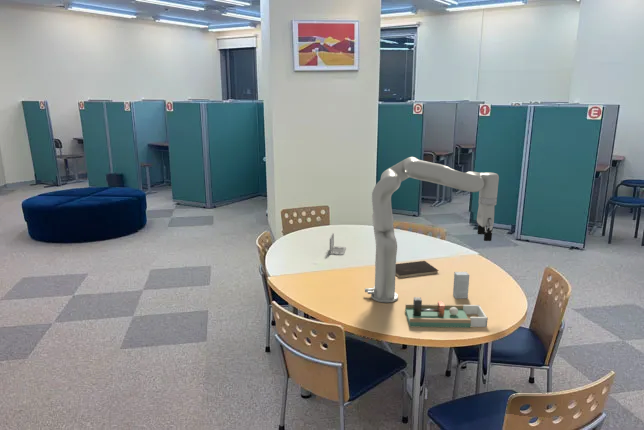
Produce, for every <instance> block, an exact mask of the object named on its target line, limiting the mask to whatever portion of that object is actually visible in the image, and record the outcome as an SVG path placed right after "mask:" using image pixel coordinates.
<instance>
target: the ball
mask: <svg viewBox="0 0 644 430" xmlns="http://www.w3.org/2000/svg"><path fill="white" fill-rule="evenodd" d="M449 312H450V314H451V315H453V316H455V315H457V314H458V309H457V308H456V307H451V308H450V310H449Z"/></svg>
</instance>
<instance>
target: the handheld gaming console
mask: <svg viewBox="0 0 644 430" xmlns="http://www.w3.org/2000/svg"><path fill="white" fill-rule="evenodd" d="M334 234H335V233H334V232H332V233H331V235H330V238H329V252H328V255H331V256H332V255H335V256H344V255H345V253H346V250H347V247H345V246H334V244H335V235H334Z"/></svg>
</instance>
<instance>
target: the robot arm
mask: <svg viewBox="0 0 644 430" xmlns="http://www.w3.org/2000/svg"><path fill="white" fill-rule="evenodd" d="M409 178H411V179H415V180H419V181H423V182H429V183H433V184H438V185H442V186H445V187H449V188H453V189H456V190H460V191H464V192H470V193H478V209H477V213H476V223H477V235H483V241H484V242H492V237H493V229H494V228H493V227H494V223H495V206H497V202H498V201H497V200H498V193H499V192H498V189H499V180H500V177H499V174H498V173H495V172H489V171H488V172H477V171H472V170H471V171H467V172H463V171H459V170H456V169H454V168H451V167H449V166H447V165H444V164H441V163H437V162H436V163H435V162H430V161H426V160H422V159H418V158H417V157H415V156H409V157H406V158H405V159H403V160H401V161H399V162H398V163H397V162H396V164H394V165H392V166H391V167H388V168H387V169H386V170H384V171H383V172H382V173H381V176H380V180H379V181H377V183H376V184H375V186H373V189H372V192H371V203H372V205H371V207H372V215H371V217H372V224H373V225H372V226H373V232H374V241H375V259H374V260H375V261H374V263H375V265H374V266H375V267H374V285H373V287H371V288H369V287H365V288H364V292H365V293H367V295H370V296H371V299H372V300H373V301H375V302H378V303H386V304H387V303H393V302H395V301H398V299H399V294H398V293H397V292H396V275H395V274H396V264H397V253H398V242H397V237H396V235H395V227H394V221H395V219H394V218H395V217H394V214H393V208H392V207H393V206H392V195H394V194H395V193H394V192H396V191H397V190H398V189H399V188H400V187H401V183H402V182H404V181H406V180H407V179H409Z"/></svg>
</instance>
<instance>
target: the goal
mask: <svg viewBox="0 0 644 430" xmlns="http://www.w3.org/2000/svg"><path fill="white" fill-rule="evenodd" d="M462 305H463V310H464V312H465V314H466V315H477V316H470V317H469V319H471V327H472V328H473V327H477V328H478V327H479V328H482V327H484V328H486V327H488V320H489V319H488V317H487V315H486V313H485V312H484V310H483V308H482V307H481V305H480V304H462Z"/></svg>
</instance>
